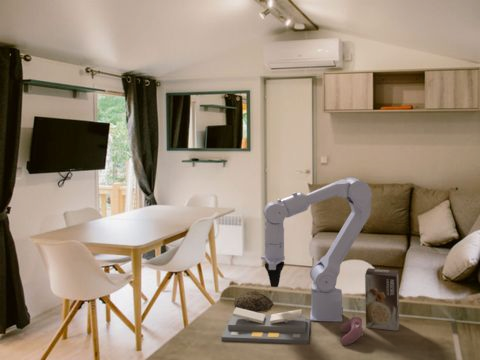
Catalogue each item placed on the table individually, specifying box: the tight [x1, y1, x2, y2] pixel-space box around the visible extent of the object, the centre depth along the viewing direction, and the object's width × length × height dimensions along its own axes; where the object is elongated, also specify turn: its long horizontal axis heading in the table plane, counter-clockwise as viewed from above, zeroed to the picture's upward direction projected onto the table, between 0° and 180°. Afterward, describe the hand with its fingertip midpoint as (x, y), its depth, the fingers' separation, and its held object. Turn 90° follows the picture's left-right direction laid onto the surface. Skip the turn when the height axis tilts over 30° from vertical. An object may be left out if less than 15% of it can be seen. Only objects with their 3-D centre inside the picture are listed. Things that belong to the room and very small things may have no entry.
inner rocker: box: [270, 308, 303, 324], centre depth 151 cm, size 9×5×1 cm, turn 80°
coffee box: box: [364, 267, 400, 332], centre depth 151 cm, size 9×6×16 cm
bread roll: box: [233, 290, 274, 312], centre depth 172 cm, size 13×12×5 cm
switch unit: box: [220, 314, 311, 345], centre depth 150 cm, size 24×15×2 cm, turn 81°
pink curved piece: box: [340, 315, 364, 346], centre depth 143 cm, size 10×5×7 cm, turn 169°
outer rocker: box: [232, 307, 266, 323], centre depth 152 cm, size 9×5×1 cm, turn 82°
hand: (274, 286), depth 158 cm, fingers closed
